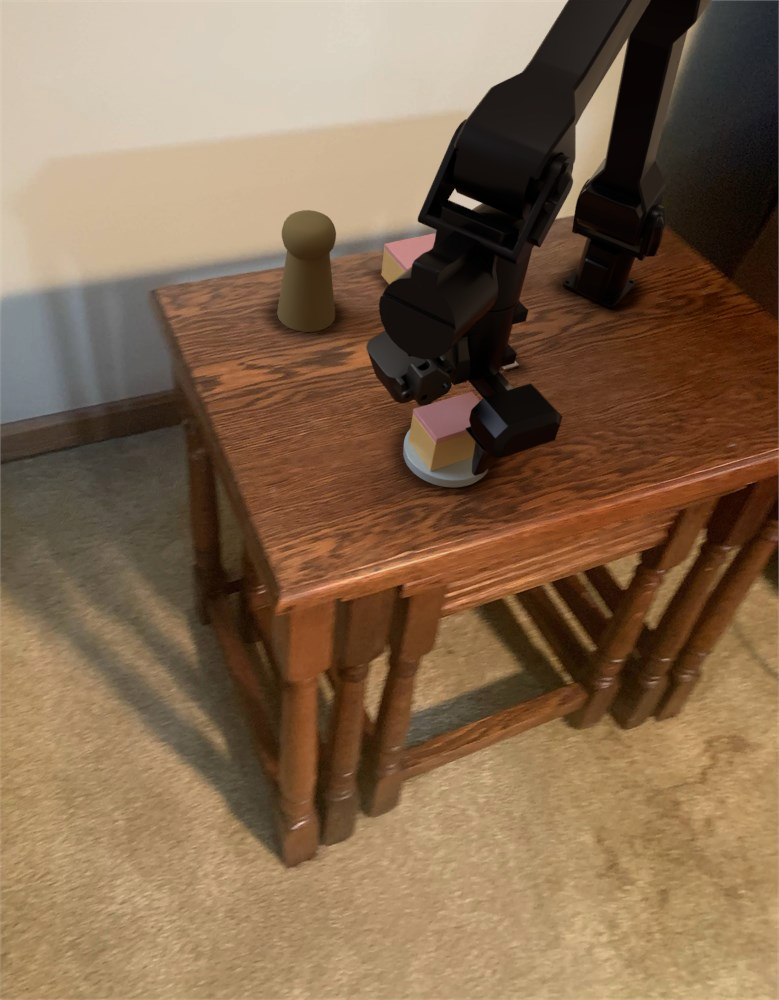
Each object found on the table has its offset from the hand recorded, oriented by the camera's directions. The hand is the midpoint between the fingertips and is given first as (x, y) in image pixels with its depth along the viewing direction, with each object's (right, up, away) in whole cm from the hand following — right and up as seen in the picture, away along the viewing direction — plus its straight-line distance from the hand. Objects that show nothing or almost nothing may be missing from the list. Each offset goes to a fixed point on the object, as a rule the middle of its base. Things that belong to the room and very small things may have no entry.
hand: (450, 438), depth 74 cm
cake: (0, +19, +20) cm, 27 cm away
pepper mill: (-14, +14, +13) cm, 24 cm away
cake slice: (0, -1, +1) cm, 1 cm away
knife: (+4, +12, +14) cm, 19 cm away
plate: (0, -1, +2) cm, 2 cm away
